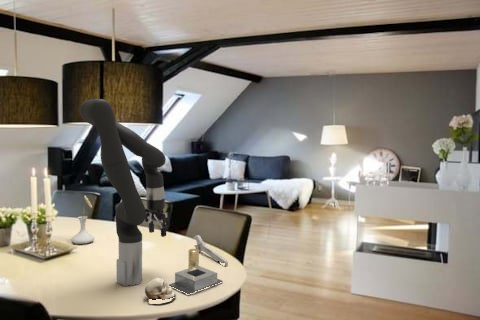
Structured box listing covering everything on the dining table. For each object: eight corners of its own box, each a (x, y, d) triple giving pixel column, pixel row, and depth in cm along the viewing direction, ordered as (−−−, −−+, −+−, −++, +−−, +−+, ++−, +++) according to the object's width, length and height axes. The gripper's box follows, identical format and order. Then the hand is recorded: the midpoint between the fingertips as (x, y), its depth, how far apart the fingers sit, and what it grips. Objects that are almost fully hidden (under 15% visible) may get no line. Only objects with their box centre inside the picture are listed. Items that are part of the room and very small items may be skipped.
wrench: (224, 273, 185) (192, 248, 209) (227, 272, 187) (195, 248, 210) (225, 256, 184) (193, 233, 208) (228, 255, 185) (196, 233, 209)
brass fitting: (192, 275, 173) (193, 252, 173) (186, 272, 176) (186, 250, 176) (200, 272, 177) (200, 250, 176) (193, 270, 180) (194, 248, 179)
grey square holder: (188, 296, 153) (188, 283, 152) (168, 286, 161) (169, 274, 160) (222, 283, 166) (222, 271, 165) (202, 275, 174) (203, 263, 173)
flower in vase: (89, 245, 211) (89, 198, 209) (67, 245, 211) (67, 197, 209) (98, 238, 224) (98, 194, 222) (78, 238, 224) (77, 193, 222)
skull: (177, 288, 157) (176, 275, 150) (174, 314, 150) (173, 303, 143) (146, 287, 157) (143, 274, 149) (142, 313, 150) (139, 302, 142)
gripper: (138, 196, 173) (140, 233, 176) (158, 201, 164) (160, 240, 166) (153, 193, 179) (155, 229, 181) (173, 198, 169) (175, 235, 171)
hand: (157, 234), depth 173 cm, fingers open, 8 cm apart
